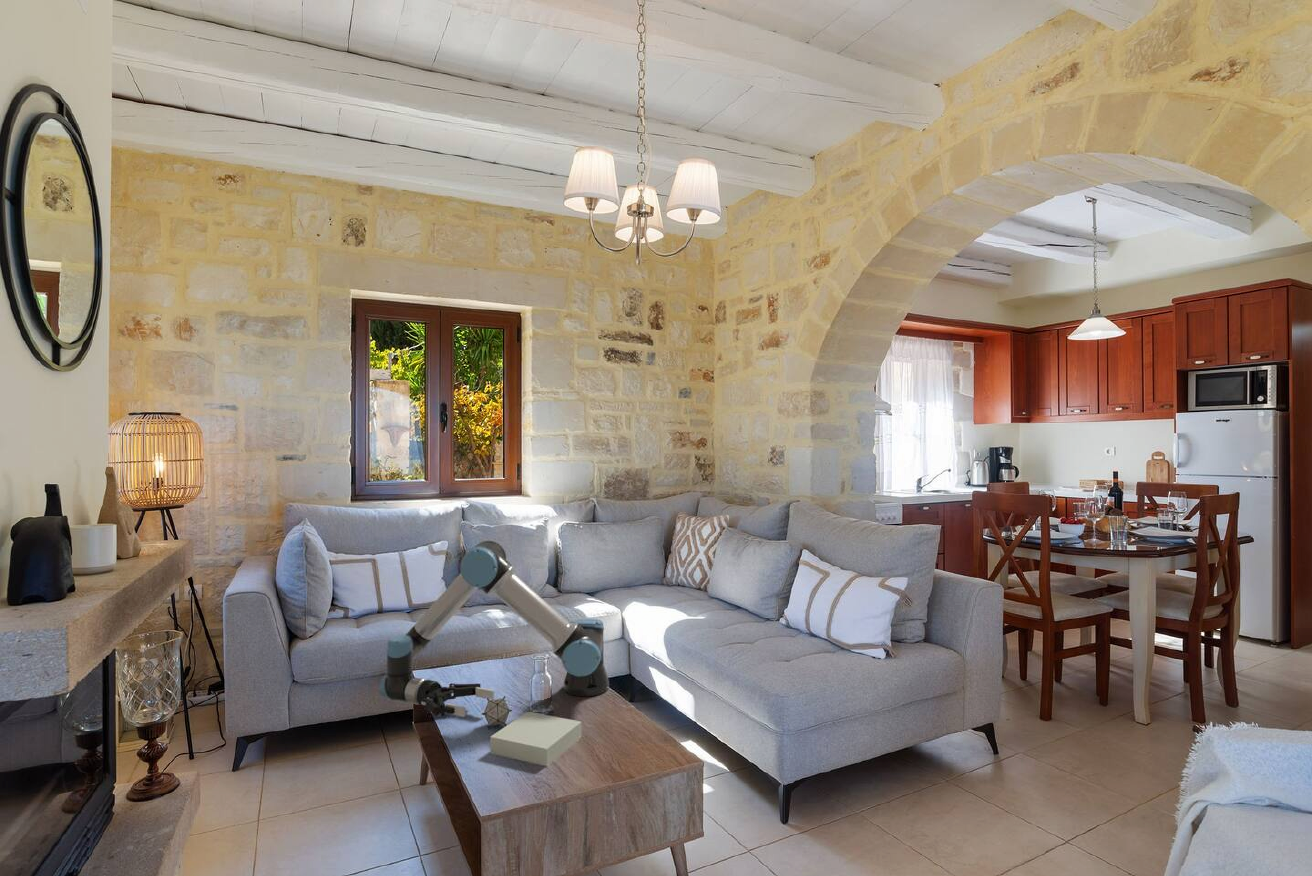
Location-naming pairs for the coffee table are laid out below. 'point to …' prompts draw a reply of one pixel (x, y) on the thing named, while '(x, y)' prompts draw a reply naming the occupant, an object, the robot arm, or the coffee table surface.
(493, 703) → the game die
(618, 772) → the coffee table surface
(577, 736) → the base block
